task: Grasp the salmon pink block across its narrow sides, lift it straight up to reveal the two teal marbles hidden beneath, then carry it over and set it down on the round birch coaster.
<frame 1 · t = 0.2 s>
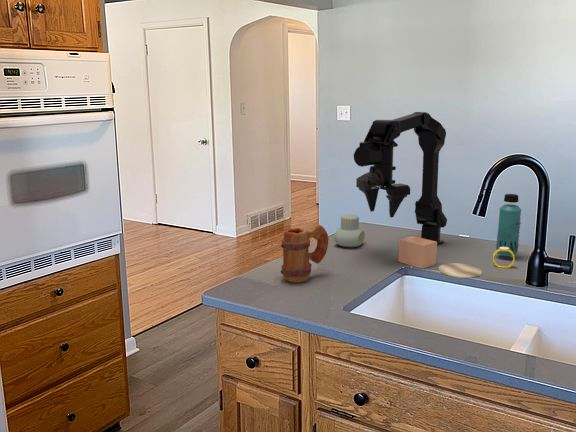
hand: (381, 214, 175), 14 cm above the worktop, tool pointing down, fingers open, 9 cm apart
salmon pink block: (416, 263, 175), on the worktop
marble b: (422, 264, 173), on the worktop
mug: (304, 279, 161), on the worktop
beverage bottle: (506, 258, 180), on the worktop
marble a: (411, 261, 176), on the worktop
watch: (502, 267, 171), on the worktop
coaster: (460, 271, 167), on the worktop
air freshener: (349, 245, 194), on the worktop
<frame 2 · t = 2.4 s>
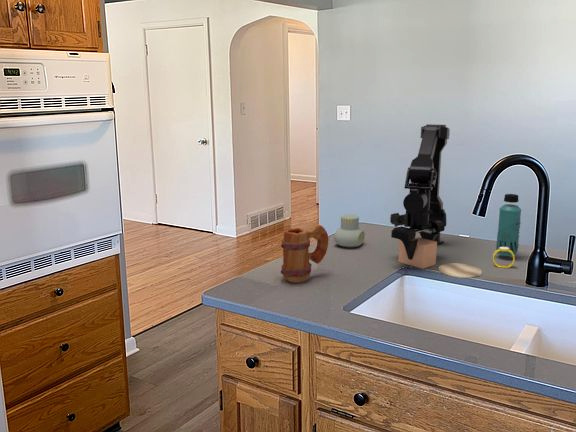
hand: (417, 257, 174), 2 cm above the worktop, tool pointing down, fingers closed on salmon pink block, 6 cm apart
salmon pink block: (416, 263, 175), on the worktop, touching gripper
everything else where it was.
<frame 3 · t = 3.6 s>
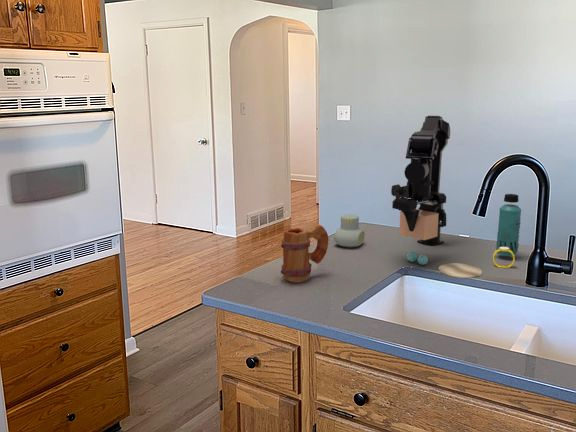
hand: (418, 229, 172), 11 cm above the worktop, tool pointing down, fingers closed on salmon pink block, 6 cm apart
salmon pink block: (418, 235, 173), point 9 cm above the worktop, touching gripper
everything else where it was.
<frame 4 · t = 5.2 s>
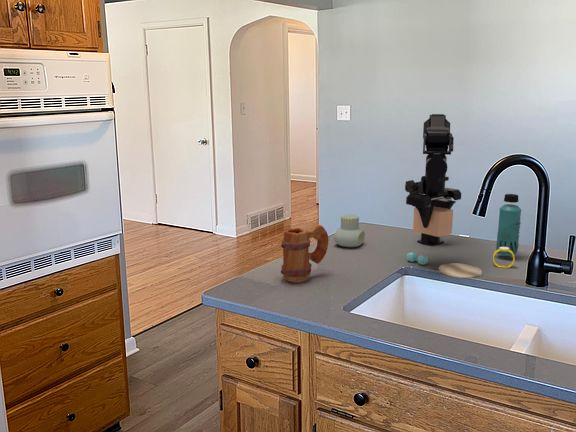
hand: (432, 226, 169), 12 cm above the worktop, tool pointing down, fingers closed on salmon pink block, 6 cm apart
salmon pink block: (432, 232, 170), point 10 cm above the worktop, touching gripper
everything else where it was.
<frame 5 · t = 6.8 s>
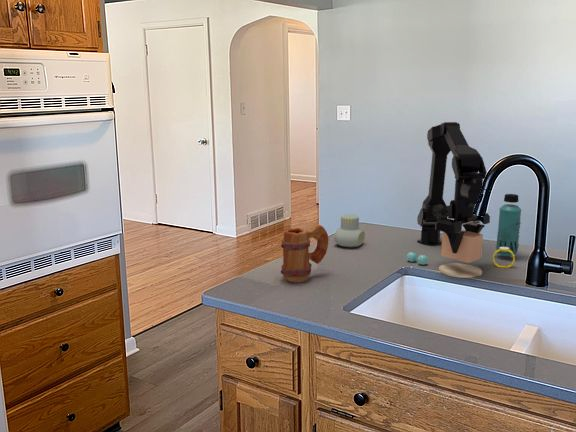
hand: (461, 250, 166), 6 cm above the worktop, tool pointing down, fingers closed on salmon pink block, 6 cm apart
salmon pink block: (460, 256, 166), point 4 cm above the worktop, touching gripper
everything else where it was.
when the fingers open (3 cm above the worktop, at t = 8.2 s): salmon pink block stays where it is, resting on coaster.
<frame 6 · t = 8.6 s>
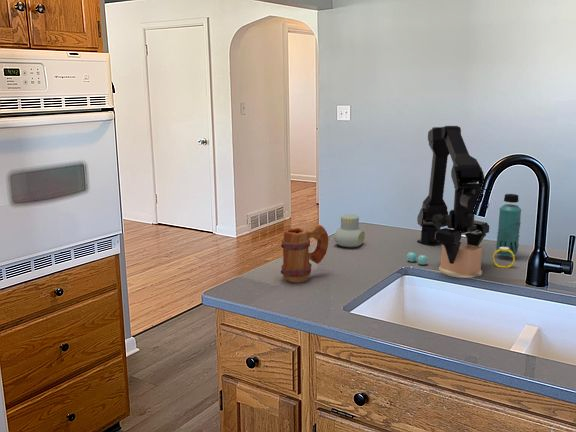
hand: (460, 260, 166), 3 cm above the worktop, tool pointing down, fingers open, 9 cm apart
salmon pink block: (460, 269, 167), resting on coaster
everything else where it was.
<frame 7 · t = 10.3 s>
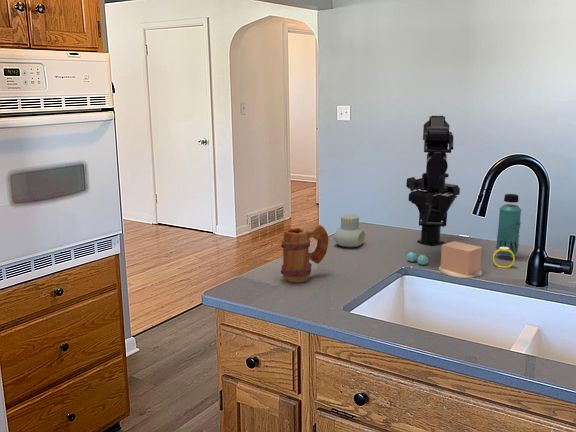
hand: (433, 220, 176), 12 cm above the worktop, tool pointing down, fingers open, 9 cm apart
nothing on the worktop moved.
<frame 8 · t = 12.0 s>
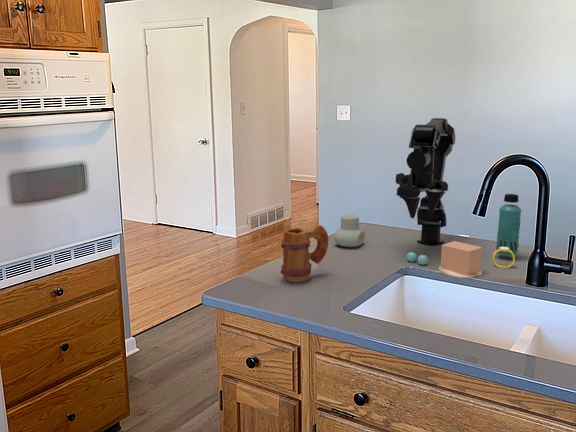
hand: (421, 215, 181), 13 cm above the worktop, tool pointing down, fingers open, 9 cm apart
nothing on the worktop moved.
at the end: salmon pink block inside the target area on the coaster (0.0 cm from its centre), point 0.5 cm above the coaster's base; salmon pink block tilted 0°; the gripper is holding nothing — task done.
